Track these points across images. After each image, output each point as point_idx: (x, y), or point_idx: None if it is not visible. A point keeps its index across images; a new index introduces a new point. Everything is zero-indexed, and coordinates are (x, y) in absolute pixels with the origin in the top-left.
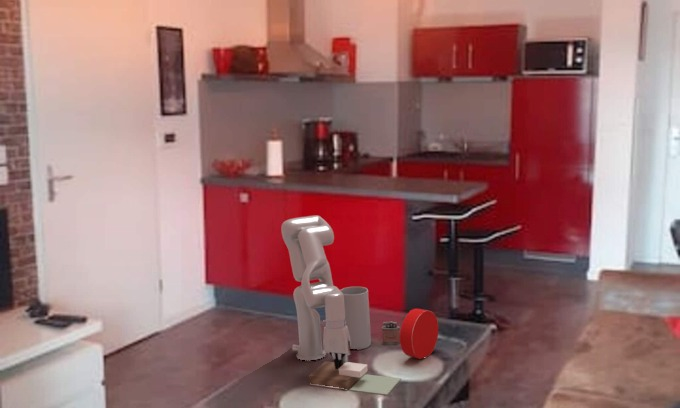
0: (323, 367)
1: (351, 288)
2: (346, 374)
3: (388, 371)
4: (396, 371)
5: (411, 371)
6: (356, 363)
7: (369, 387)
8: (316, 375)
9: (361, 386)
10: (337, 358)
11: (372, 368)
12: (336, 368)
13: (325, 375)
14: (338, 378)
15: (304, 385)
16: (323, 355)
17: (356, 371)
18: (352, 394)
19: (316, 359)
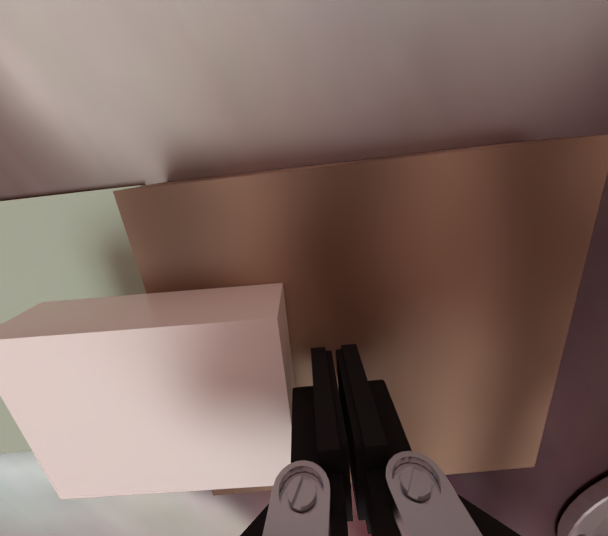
0: (512, 368)
1: None
2: (189, 296)
3: (128, 499)
4: (91, 511)
5: (24, 531)
6: (177, 487)
7: (34, 279)
8: (523, 172)
9: (98, 271)
10: (366, 490)
11: (232, 500)
12: (343, 349)
13: (416, 212)
14: (231, 196)
15: (572, 119)
16: (573, 532)
17: (22, 334)
18: (71, 119)
19: (601, 489)
